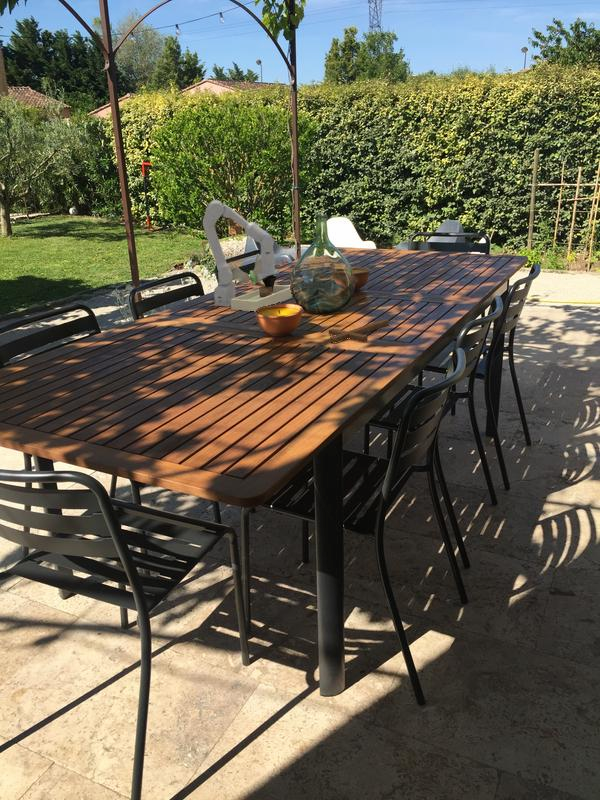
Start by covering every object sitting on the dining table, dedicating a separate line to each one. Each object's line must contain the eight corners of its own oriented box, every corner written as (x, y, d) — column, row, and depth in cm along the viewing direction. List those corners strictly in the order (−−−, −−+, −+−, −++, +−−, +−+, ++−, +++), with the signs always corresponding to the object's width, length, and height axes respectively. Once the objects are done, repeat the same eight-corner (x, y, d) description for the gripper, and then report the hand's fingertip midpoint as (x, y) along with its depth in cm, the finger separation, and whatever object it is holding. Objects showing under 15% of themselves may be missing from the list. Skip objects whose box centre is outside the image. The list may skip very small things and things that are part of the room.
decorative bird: (279, 269, 325) (265, 250, 313) (278, 284, 320) (263, 266, 308) (238, 281, 334) (223, 263, 323) (236, 296, 329) (221, 279, 318)
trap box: (256, 312, 268) (256, 301, 266) (231, 309, 274) (230, 299, 273) (295, 296, 294) (295, 286, 292) (271, 294, 300) (271, 284, 298)
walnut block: (267, 297, 281) (266, 288, 280) (259, 297, 283) (259, 288, 282) (272, 295, 285) (271, 286, 283) (264, 295, 287) (264, 286, 285)
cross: (403, 322, 234) (350, 341, 214) (403, 328, 234) (350, 348, 215) (369, 316, 244) (315, 334, 225) (369, 322, 245) (315, 340, 226)
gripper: (266, 265, 274) (268, 296, 279) (284, 259, 285) (285, 289, 290) (252, 264, 277) (255, 295, 282) (270, 259, 289) (272, 289, 294)
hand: (269, 292), depth 286 cm, fingers closed
